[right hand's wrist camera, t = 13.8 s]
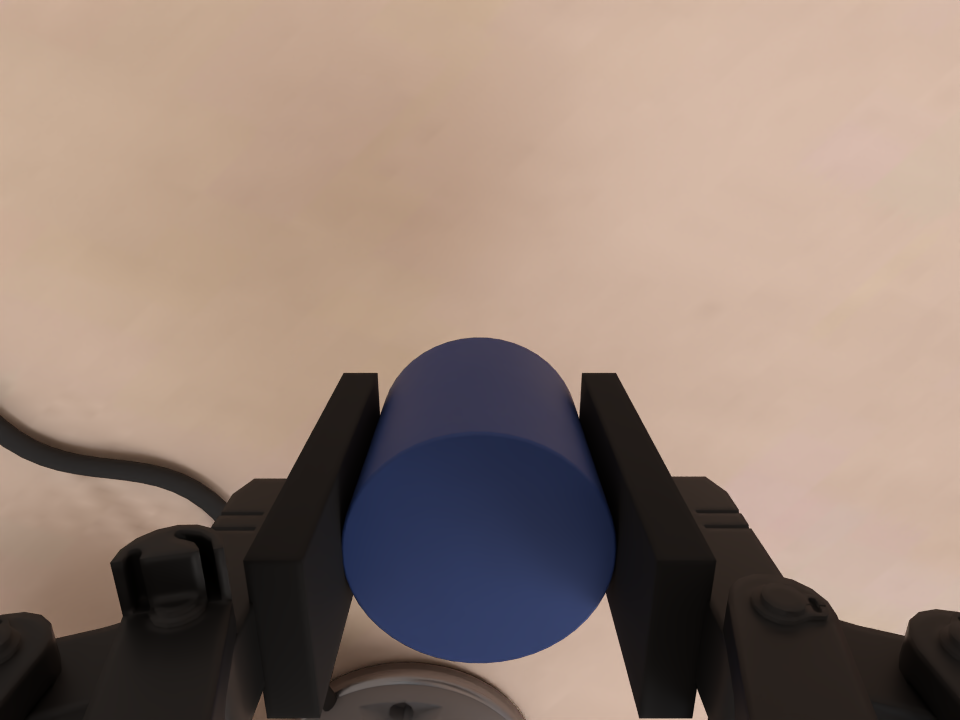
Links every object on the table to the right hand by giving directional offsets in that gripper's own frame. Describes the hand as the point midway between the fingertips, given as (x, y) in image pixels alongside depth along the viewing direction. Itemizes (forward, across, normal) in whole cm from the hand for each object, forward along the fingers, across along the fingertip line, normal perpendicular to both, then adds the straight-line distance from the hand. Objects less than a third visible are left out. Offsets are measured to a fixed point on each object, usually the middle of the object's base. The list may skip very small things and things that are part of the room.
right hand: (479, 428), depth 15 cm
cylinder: (0, 0, 0) cm, 0 cm away
